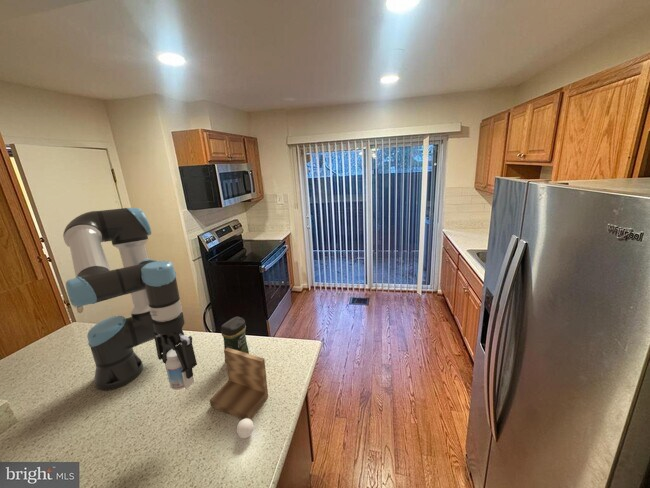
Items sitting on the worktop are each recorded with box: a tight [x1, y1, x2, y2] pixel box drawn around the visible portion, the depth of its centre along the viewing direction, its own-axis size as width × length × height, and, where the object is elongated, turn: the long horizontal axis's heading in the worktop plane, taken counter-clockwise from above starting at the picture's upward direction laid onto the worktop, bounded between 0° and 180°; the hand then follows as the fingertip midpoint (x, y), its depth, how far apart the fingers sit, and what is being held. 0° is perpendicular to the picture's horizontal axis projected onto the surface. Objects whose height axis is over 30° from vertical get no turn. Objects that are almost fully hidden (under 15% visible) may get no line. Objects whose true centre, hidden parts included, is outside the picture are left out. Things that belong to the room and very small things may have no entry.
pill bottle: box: [165, 349, 186, 391], centre depth 78 cm, size 6×6×11 cm
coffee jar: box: [220, 316, 250, 364], centre depth 108 cm, size 10×8×19 cm
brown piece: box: [209, 348, 269, 421], centre depth 88 cm, size 16×11×16 cm, turn 67°
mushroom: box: [236, 418, 255, 439], centre depth 78 cm, size 5×5×5 cm
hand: (181, 381), depth 80 cm, fingers closed on pill bottle, 6 cm apart
